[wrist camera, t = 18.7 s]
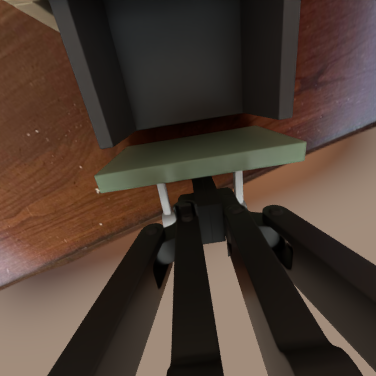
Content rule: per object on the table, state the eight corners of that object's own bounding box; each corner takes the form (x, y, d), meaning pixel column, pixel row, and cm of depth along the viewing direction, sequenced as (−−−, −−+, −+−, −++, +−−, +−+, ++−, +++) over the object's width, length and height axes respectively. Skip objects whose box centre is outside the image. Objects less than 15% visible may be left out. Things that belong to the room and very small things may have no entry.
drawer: (256, 186, 21) (297, 231, 14) (143, 204, 21) (125, 257, 14) (256, -86, 13) (359, -334, 5) (69, -50, 13) (-68, -239, 6)
